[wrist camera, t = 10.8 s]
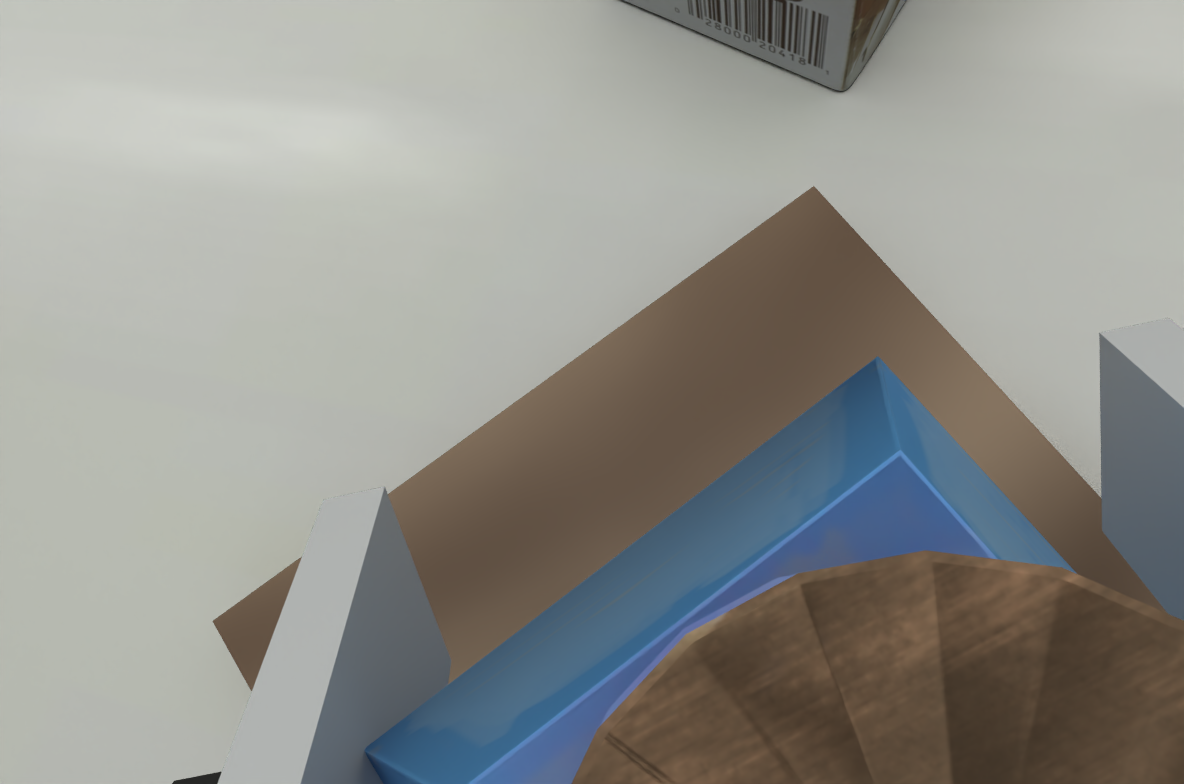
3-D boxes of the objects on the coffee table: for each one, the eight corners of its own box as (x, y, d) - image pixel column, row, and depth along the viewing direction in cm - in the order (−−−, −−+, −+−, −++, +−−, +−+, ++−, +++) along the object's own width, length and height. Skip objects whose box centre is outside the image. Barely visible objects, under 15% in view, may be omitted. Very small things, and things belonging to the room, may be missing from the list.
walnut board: (237, 625, 20) (212, 621, 19) (810, 209, 21) (814, 186, 20) (747, 1529, 15) (747, 1583, 14) (1474, 939, 16) (1518, 953, 15)
